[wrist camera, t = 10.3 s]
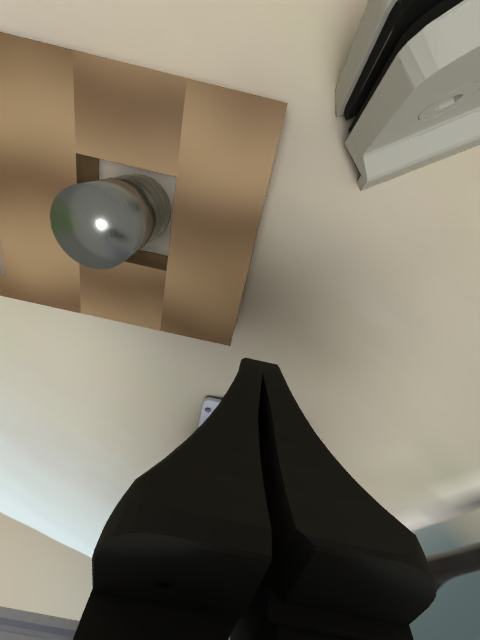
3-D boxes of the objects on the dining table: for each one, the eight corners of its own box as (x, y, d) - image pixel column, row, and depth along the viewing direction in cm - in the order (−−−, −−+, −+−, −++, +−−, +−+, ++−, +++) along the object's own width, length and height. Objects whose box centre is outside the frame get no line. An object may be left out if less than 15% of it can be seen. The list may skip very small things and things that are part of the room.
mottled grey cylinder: (168, 242, 20) (133, 276, 14) (111, 232, 20) (54, 261, 14) (172, 180, 18) (134, 192, 13) (109, 168, 18) (45, 175, 13)
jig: (233, 327, 22) (229, 349, 20) (-26, 270, 22) (-64, 285, 19) (284, 109, 16) (288, 102, 14) (-75, 20, 15) (-140, -5, 13)
